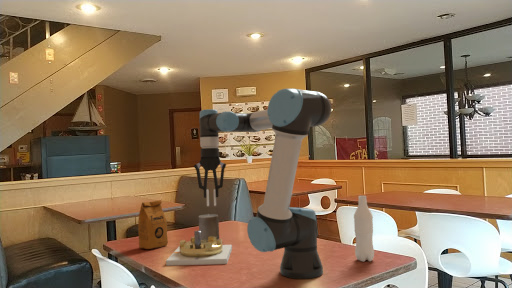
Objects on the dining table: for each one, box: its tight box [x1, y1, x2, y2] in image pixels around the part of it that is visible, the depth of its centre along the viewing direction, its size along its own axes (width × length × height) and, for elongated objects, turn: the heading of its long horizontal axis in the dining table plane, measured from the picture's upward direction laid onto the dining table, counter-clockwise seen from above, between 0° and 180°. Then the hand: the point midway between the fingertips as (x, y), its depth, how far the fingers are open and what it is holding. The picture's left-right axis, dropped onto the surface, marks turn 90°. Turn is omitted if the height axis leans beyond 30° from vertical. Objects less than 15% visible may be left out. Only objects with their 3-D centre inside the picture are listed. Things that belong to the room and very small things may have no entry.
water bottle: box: [353, 195, 375, 262], centre depth 156 cm, size 7×7×25 cm
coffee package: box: [137, 199, 169, 250], centre depth 190 cm, size 10×12×22 cm
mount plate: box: [165, 244, 233, 267], centre depth 169 cm, size 24×24×2 cm
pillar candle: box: [198, 212, 220, 240], centre depth 193 cm, size 10×10×15 cm
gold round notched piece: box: [179, 230, 223, 257], centre depth 169 cm, size 18×18×10 cm
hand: (211, 205), depth 162 cm, fingers open, 2 cm apart
